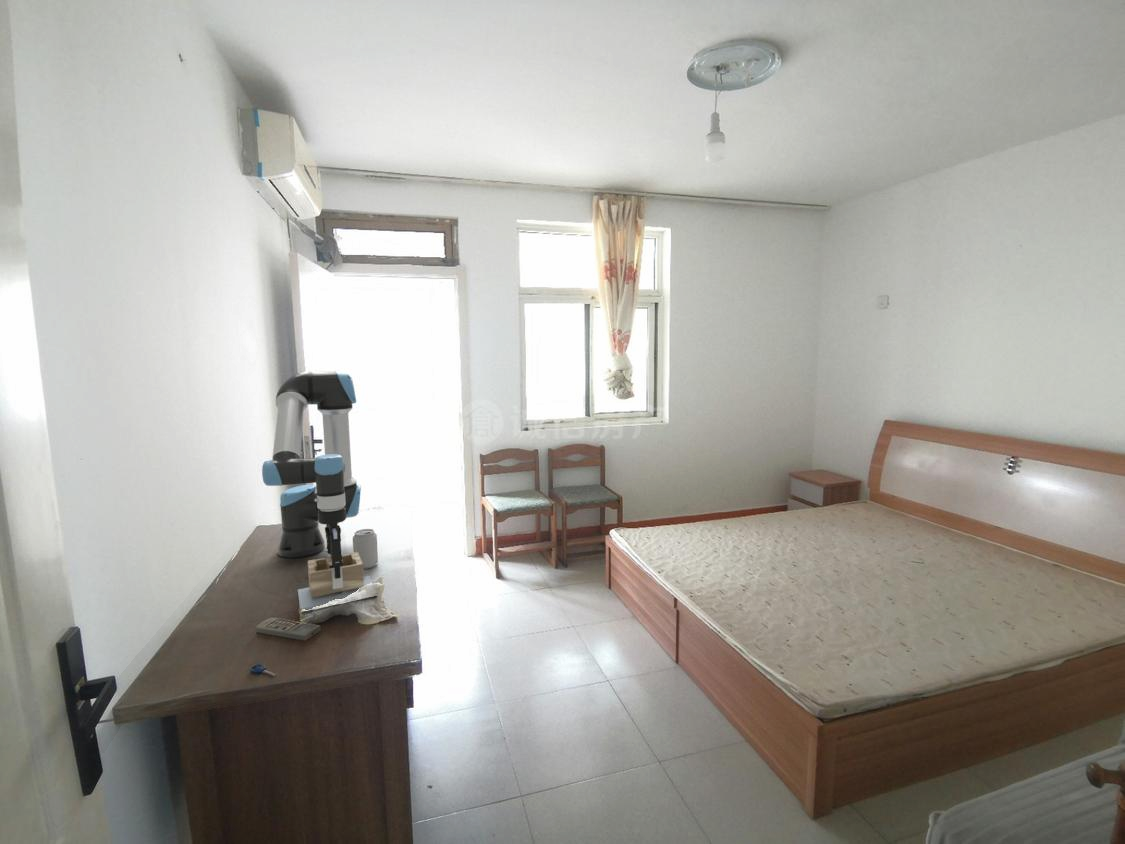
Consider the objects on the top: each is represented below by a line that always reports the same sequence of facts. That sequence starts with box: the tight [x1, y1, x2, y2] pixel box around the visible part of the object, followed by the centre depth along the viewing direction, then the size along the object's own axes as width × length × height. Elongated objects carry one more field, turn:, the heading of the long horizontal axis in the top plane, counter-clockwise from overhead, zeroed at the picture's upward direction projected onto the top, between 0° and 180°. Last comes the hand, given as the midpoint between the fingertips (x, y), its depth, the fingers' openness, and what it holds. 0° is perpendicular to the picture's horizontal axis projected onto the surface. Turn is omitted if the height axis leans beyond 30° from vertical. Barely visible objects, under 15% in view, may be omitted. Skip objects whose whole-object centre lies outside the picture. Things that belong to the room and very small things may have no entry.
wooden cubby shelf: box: [307, 552, 365, 597], centre depth 153 cm, size 10×14×7 cm
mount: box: [297, 575, 373, 613], centre depth 152 cm, size 14×20×4 cm
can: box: [352, 528, 379, 570], centre depth 173 cm, size 8×8×12 cm
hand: (335, 581), depth 153 cm, fingers closed on wooden cubby shelf, 10 cm apart
